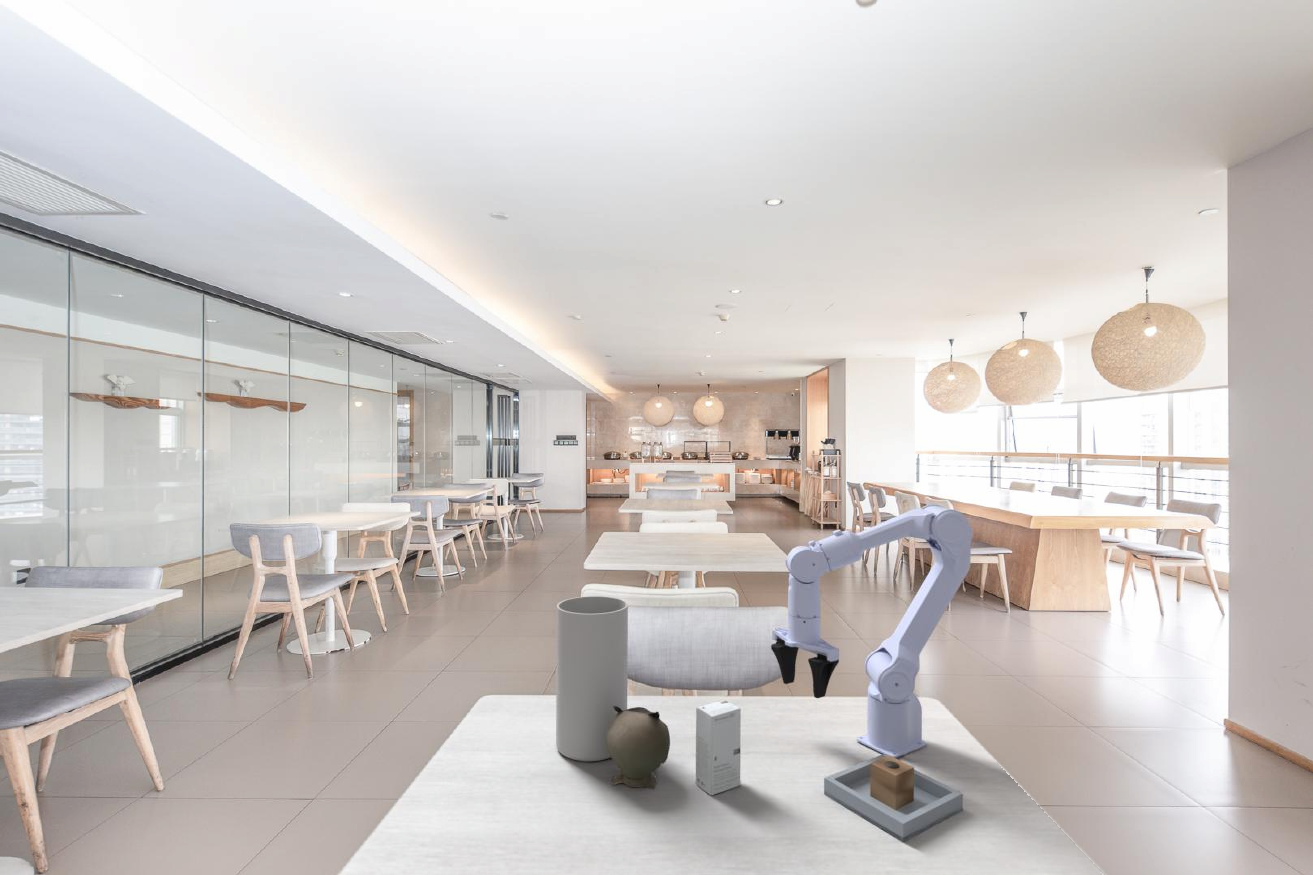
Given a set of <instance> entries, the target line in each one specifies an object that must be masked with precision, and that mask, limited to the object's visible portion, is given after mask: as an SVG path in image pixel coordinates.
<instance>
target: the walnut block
mask: <svg viewBox="0 0 1313 875" xmlns="http://www.w3.org/2000/svg"><path fill="white" fill-rule="evenodd" d="M914 770H915V767H914V766H913V765H909V764H908V763H906V762H903V761H902V760H899V759H897V758H893V757H891V756H889V755H888V756H886V757H883V758H881V759H879V760H876V761H874V762H872V763H870V796H871V797H873V798H874V799H876V800H878V801H880V802H882V803H883V804H885V805H887V806H889V807H891V808H892V809H894V810H897V809H899V808H901V807H903V806H905V805H907V804H909V803H911V802H913V801H914Z"/></svg>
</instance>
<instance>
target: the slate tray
mask: <svg viewBox="0 0 1313 875" xmlns="http://www.w3.org/2000/svg"><path fill="white" fill-rule="evenodd" d="M883 757H886V755H884V754H882V753H881V754H880V755H878V756H875V757H873V758H870V759H867V760H864V761H862V762H860V763H858V764H855V765H853V766H851V767H848V768H845V769H843V770H841V771H838V772H835V773H833V774H830V775H828V776H825V777H824V778H823V779H824V780H823V794H824V795H825V796H826V797H828V798H830V799H831V800H832V801H834V802H836V803H838V804H840V805H841V806H842V807H844V808H846V809H847V810H849V811H851V812H853V813H854V814H855V815H857V816H859V817H861V818H863V819H864V820H866V821H868V823H870V824H872V825H874V826H875V827H877V828H879V829H881V830H882V831H884V832H886V833H887V834H889V835H891V837H893V838H895V839H897V840H898V841H900V842H902V843H905V842H907V841H909V840H910V839H912V838H914V837H916V836H918V835H919V834H921V833H924V832H926V831H927V830H929V829H931V828H932V827H934V826H937V825H939V824H940V823H942V822H944V821H945V820H948V819H949V818H951V817H954V816H955V815H957V814H958V813H959V814H960V813H961V812H963V810H964V793H963V792H961V791H959V790H957V789H955V788H953V787H951V786H948V785H947V784H945V783H943V782H940V781H938V780H936V779H935V778H933V777H930V776H928V775H927V774H924V773H923V772H921V771H919V770H916V769H914V801H913V802H911V803H909V804H907V805H905V806H903V807H901V808H899V809H897V810H894V809H892V808H891V807H889V806H887V805H885V804H883V803H882V802H880V801H878V800H876V799H874V798H873V797H871V796H870V763H872V762H874V761H876V760H879V759H881V758H883Z"/></svg>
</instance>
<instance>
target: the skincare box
mask: <svg viewBox="0 0 1313 875" xmlns="http://www.w3.org/2000/svg"><path fill="white" fill-rule="evenodd" d="M695 709H696V710H695V711H696V712H695V713H696V714H695V715H696V716H695V718H696V719H695V732H696V733H695V784H696V785H697V787H699V788H700V789H702V790H703V791H704V792H705V793H707V794H708V795H710V796H713V795H716V794H719V793H722V792H725V791H728V790H732V789H734V788H736V787H739V786H740V785H741V724H742V722H741V719H742V717H741V707H738V706H737V705H735V704H733V703H731V702H729V701H727V700H725V699H724V700H721V701H717V702H716V701H715V702H710V703H707V704H705V705H700V706H697V707H696V708H695Z"/></svg>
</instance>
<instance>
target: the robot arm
mask: <svg viewBox="0 0 1313 875" xmlns="http://www.w3.org/2000/svg"><path fill="white" fill-rule="evenodd" d="M832 534H833V535H830V536H828V537H825V538H822V539H820V540H817V541H815V540H810V541H808V546H806V545H805V546H804V545H798V546H795V547H794V548H792V549H791V550H790V552H788V554H787V557H786V559H785V566H786V568H787V570H788V571H789V577H788V589H787V594H788V595H787V597H788V598H787V601H788V602H787V628H786V629H785V628H781V627H777V628H772V630H771V634H772V636H771V639H772V640H773V641H774V642H775V643H772V644H771V645H770V649H771V650H772V652H773V654H774V655H775V658H776V661H777V664H778V667H779V670H780V674H781V679H782V683H783V684H785V685H788V684H791V683H794V682H795V679H796V678H795V677H796V664H797V663H796V662H797V655H798V652H799V649H802V650H804V651H806V652H809V653H812V654H815V655H816V656H813V657H810V658H807V659H808V660H807V661H808V664H809V668H810V671H811V676H812V688H813V689H812V691H813V692H812V693H813V697H814V698H816V699H820V698H824V697H826V694H827V690H828V685H829V683H830V680H831V677H832V674H833V672H834V671H835V669H836V667H837V666H838V665H839V662H840V649H839V648H838V647H836V646H834V645H832V644H830V643H829V642H827V641H825V640H824V639H822V638H821V599H822V598H821V596H822V594H821V593H822V592H821V589H820V588H821V586H820V584H821V580H820V579H821V578H822V577H823V575H824V574H825V573H830V572H832V571H835V570H838V569H840V568H842V567H845V566H849V565H851V564H853V563H856V562H859V561H860V560H861V559H862V558H863V554H864V552H865V551H867V550H871V549H874V548H877V547H879V546H883V545H885V544H886V545H887V544H888V543H892V542H894V541H895V542H896V541H898V540H901V539H904V538H914V539H915V538H916V539H921V540H924V541H926V543H927V544H928V545H929V548H930V549H929V550H930V552H931V553H932V557H933V559H934V564H933V565H932V567H931V569H930V571H929V572H928V574H927V575H926V577H925V579H924V580H923V582H922V584H921V586H920V587H919V589H918V591H917V592H916V594H915V596H914V598H913V599H912V601H911V603H910V605H909V606H908V608H907V610H906V611H905V613H904V615H903V616H902V618H901V619H900V622H899V623H898V625H897V627H896V629H894V632H893V634H891V636H890V637H888V638H886V639H885V640H883V641H882V642H881V644H880V645H879V647H878V648H876V649H875V650H873V651H871V653H869V654H868V655H867V657H866V658H865V661H864V670H865V673H866V675H867V676H868V678H869V679H870V683H869V685H868V688H867V716H866V717H867V720H866V722H867V734H864V735H861V736H858V737H856V742H858V743H861V744H863V745H864V746H866V747H868V748H870V749H873V750H874V751H876V752H878V753H880V754H881V755H882V754H884V755H886V756H888V755H889V756H891V757H893V758H895V759H897V758H899V757H902V756H903V755H906V754H908V753H912V752H913V751H916V750H918V749H921V748H923V747H926V746H927V742H926V741H924V740H923V739H922V737H923V733H922V732H923V728H922V727H923V709H922V708H923V706H922V704H921V702H920V699H919V698H918V696H917V695H916V694H915V693H914V691H915V686H916V685H915V684H916V677H917V675H918V673H919V672H920V654H921V653H922V651H923V649H924V648H925V646H926V644H927V642H928V641H929V639H930V638H931V636H932V634H933V632H934V630H935V629H936V627H937V625H938V624H939V622H940V621H941V618H942V617H943V615H944V613H945V612H946V610H947V609H948V607H949V605H950V604H951V602H952V600H953V599H954V596H955V595H956V593H957V591H959V590H958V589H959V588H960V587H961V585H962V583H963V582H964V580H965V578H966V576H967V574H968V573H969V571H970V568H971V558H972V557H971V556H972V554H971V553H972V552H971V549H972V548H971V545H972V543H971V542H972V539H973V536H974V535H975V533H974V531H973V528H972V526H971V524H970V522H969V520H968V518H967V517H966V515H965V514H964V513H962V512H961V511H959V510H957V509H951V508H950V509H949V508H946V507H943V506H941V505H938V504H932V503H931V504H927V505H924V506H922V507H921V508H920V507H919V508H914V509H911V510H910V509H909V510H908V511H906V512H904V513H901V514H898V515H897V516H895V517H892V518H889V519H888V520H885V521H882V522H880V523H878V524H875V525H873V526H872V527H871V526H870V527H868V528H866V529H864V530H862V531H860V532H858V533H855V532H852V531H850V530H843V531H842V530H841V529H839V528H838V529H836V530H834V531H832Z"/></svg>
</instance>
